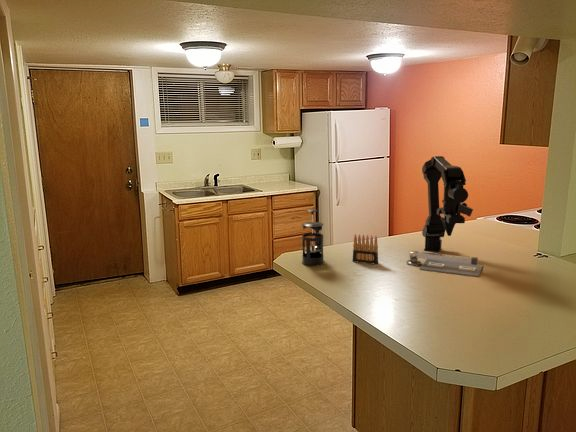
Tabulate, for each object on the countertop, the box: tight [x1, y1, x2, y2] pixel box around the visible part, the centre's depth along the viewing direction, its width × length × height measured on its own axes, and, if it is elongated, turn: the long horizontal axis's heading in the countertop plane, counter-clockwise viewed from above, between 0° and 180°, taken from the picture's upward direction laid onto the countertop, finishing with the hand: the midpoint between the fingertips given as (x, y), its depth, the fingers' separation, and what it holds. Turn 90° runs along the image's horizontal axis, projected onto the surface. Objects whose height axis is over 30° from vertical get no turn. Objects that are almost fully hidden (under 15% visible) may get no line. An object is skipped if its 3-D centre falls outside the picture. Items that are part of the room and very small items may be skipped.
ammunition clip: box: [352, 233, 379, 265], centre depth 198 cm, size 11×2×12 cm, turn 65°
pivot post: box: [405, 257, 422, 267], centre depth 195 cm, size 6×6×3 cm
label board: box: [419, 259, 483, 278], centre depth 188 cm, size 22×14×1 cm, turn 62°
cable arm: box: [409, 250, 479, 265], centre depth 189 cm, size 26×4×2 cm, turn 62°
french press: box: [301, 208, 325, 267], centre depth 198 cm, size 12×9×23 cm
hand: (449, 235), depth 192 cm, fingers closed
